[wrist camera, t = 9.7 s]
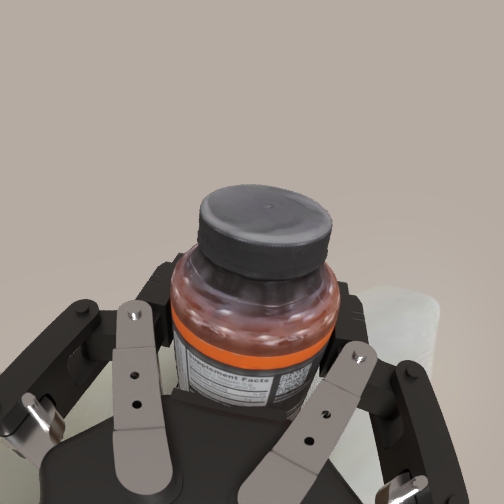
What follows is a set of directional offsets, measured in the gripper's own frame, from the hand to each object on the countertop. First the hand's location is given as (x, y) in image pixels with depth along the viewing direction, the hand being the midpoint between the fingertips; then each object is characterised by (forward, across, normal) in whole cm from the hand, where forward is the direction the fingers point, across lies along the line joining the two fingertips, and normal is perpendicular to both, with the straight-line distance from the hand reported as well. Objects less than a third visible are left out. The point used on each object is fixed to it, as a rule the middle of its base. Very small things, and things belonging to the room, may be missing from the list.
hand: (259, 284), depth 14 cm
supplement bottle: (-2, 0, +7) cm, 7 cm away
